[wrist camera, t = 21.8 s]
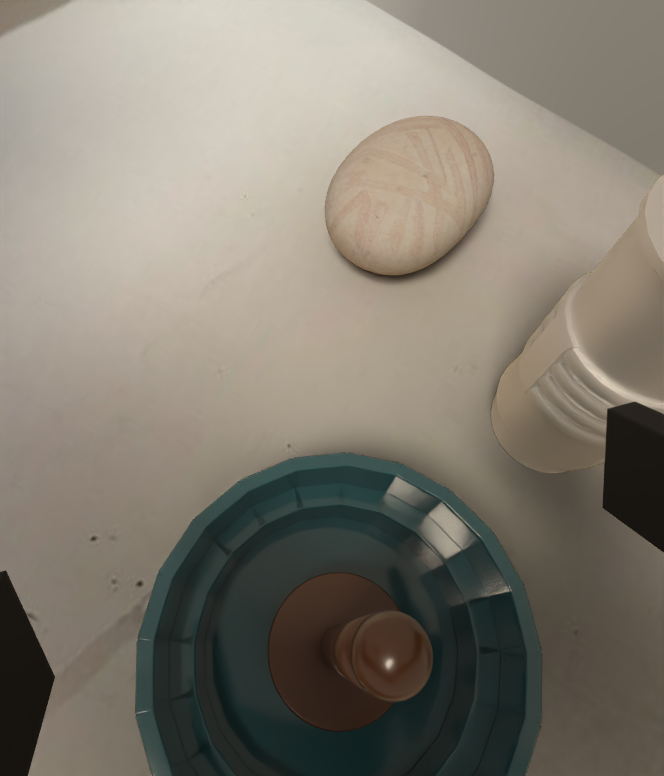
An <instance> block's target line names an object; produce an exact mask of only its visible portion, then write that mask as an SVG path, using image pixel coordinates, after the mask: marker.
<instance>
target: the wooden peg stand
mask: <svg viewBox="0 0 664 776" xmlns="http://www.w3.org/2000/svg"><path fill="white" fill-rule="evenodd" d="M268 664H269V670H270V674H271V678H272V681H273V683H274V686H275V688H276V690H277V692H278V694H279V696H280V697H281V699H282V701H283V702H284V703H285V705H286V706H287V707H288V708H289V709H290V710H291V711H292V712H293V713H294V714H295V715H296V716H297V717H298V718H300V719H301V720H303V721H304V722H306V723H308V724H309V725H311V726H313V727H316V728H319V729H322V730H326V731H331V732H346V731H353V730H357V729H360V728H363V727H365V726H367V725H370V724H371V723H373V722H374V721H376V720H378V719H379V718H380V717H381V716H383V715H384V714H385V713H386V712H387V711H388V710H389V709H390V708H391V706H392V705H393V704H394V703H395V702H401V701H405V700H408V699H410V698H412V697H414V696H415V695H416V694H418V693H419V692H420V691H421V690H422V689H423V687H424V686H425V685H426V683H427V681H428V679H429V677H430V674H431V671H432V665H433V650H432V646H431V642H430V640H429V637H428V635H427V633H426V632H425V630H424V629H423V627H422V626H421V625H420V624H419V623H418V622H417V621H416V620H415V619H414V618H412V617H411V616H409V615H407V614H405V613H403V612H400V610H399V608H398V606H397V605H396V603H395V602H394V600H393V599H392V598H391V597H390V596H389V595H388V593H387V592H386V591H384V590H383V589H382V588H381V587H380V586H379V585H377V584H376V583H374V582H373V581H371V580H369V579H367V578H365V577H362V576H359V575H356V574H352V573H347V572H331V573H325V574H321V575H318V576H315V577H313V578H311V579H309V580H307V581H305V582H303V583H302V584H301V585H299V586H298V587H296V588H295V589H294V590H293V591H292V592H291V593H290V594H289V595H288V596H287V598H286V599H285V600H284V601H283V603H282V604H281V606H280V608H279V609H278V611H277V613H276V615H275V617H274V620H273V623H272V626H271V629H270V634H269V638H268Z"/></svg>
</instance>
